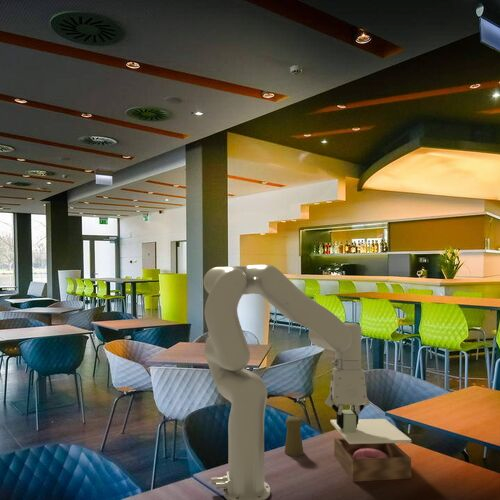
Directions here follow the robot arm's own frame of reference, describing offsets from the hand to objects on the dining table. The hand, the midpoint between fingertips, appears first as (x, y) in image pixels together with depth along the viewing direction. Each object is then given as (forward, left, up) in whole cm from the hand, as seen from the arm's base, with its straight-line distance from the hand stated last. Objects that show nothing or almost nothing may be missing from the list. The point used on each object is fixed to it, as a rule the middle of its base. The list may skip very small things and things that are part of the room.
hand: (347, 426), depth 133 cm
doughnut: (+7, 0, -13) cm, 15 cm away
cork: (-13, +13, -12) cm, 22 cm away
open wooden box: (+7, 0, -12) cm, 14 cm away
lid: (+6, 0, -2) cm, 7 cm away
